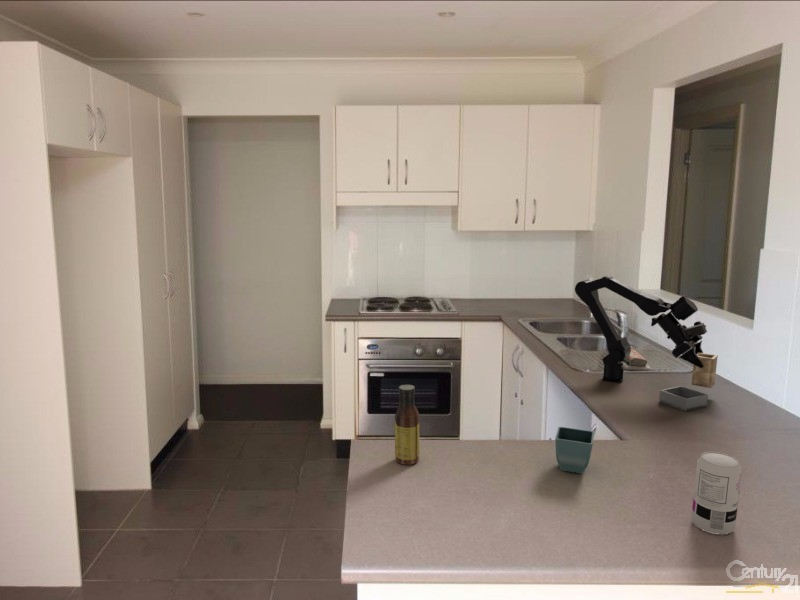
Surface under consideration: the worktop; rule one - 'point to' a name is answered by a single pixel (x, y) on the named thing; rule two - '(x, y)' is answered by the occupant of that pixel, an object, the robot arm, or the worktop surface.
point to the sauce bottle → (407, 427)
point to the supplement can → (716, 492)
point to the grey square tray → (683, 398)
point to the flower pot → (573, 449)
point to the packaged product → (635, 362)
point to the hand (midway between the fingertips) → (704, 365)
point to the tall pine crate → (705, 371)
